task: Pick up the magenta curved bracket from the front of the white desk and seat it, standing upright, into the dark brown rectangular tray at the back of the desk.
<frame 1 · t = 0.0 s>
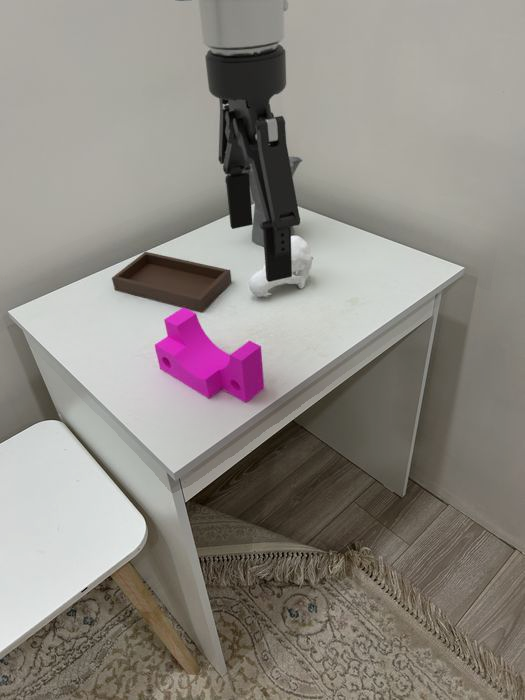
hand: (258, 250, 64), 21 cm above the table, tool pointing down, fingers open, 13 cm apart
white lumpy piece: (279, 289, 96), on the table
dark brown rectangular tray: (173, 286, 98), on the table
coffeepot: (268, 238, 110), on the table
magenta curved bracket: (210, 379, 78), on the table
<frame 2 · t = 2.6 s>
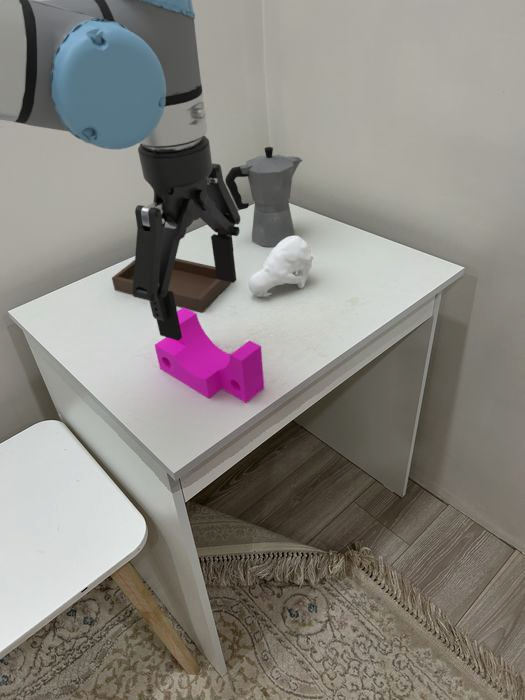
hand: (200, 306, 70), 12 cm above the table, tool pointing down, fingers open, 13 cm apart
nothing on the table moved.
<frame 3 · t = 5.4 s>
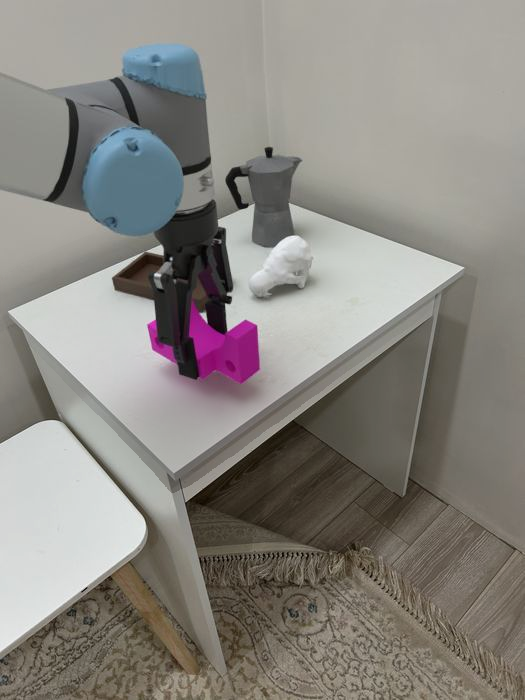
hand: (204, 358, 76), 4 cm above the table, tool pointing down, fingers closed on magenta curved bracket, 7 cm apart
magenta curved bracket: (204, 360, 76), point 3 cm above the table, touching gripper
everything else where it was.
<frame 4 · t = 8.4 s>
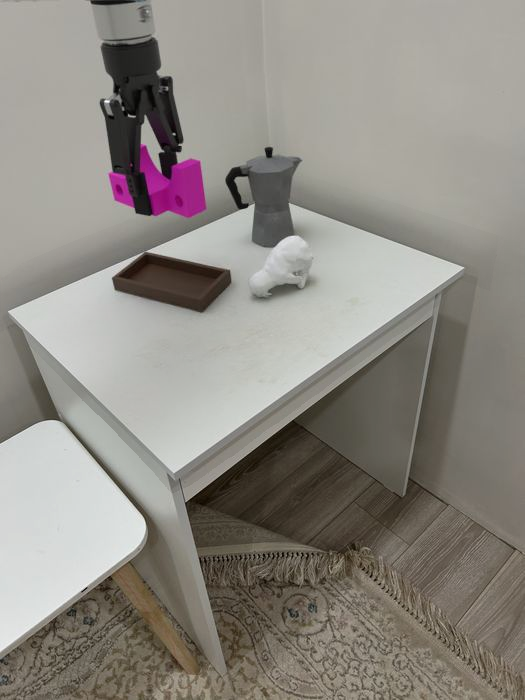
hand: (159, 203, 86), 17 cm above the table, tool pointing down, fingers closed on magenta curved bracket, 7 cm apart
magenta curved bracket: (159, 205, 86), point 16 cm above the table, touching gripper
everything else where it was.
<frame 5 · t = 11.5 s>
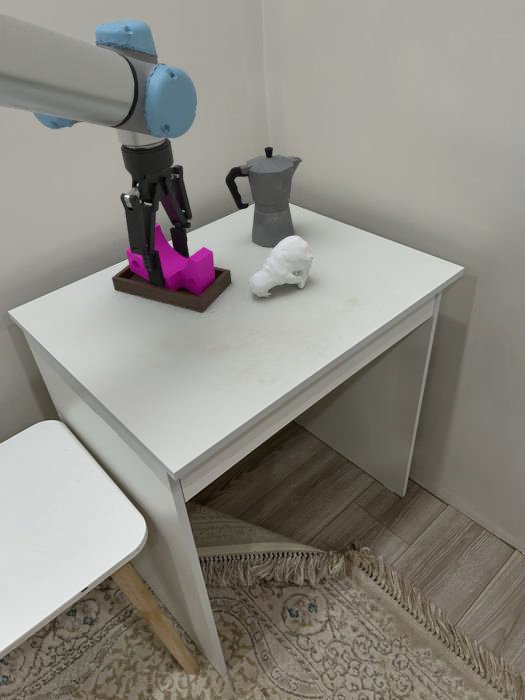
hand: (170, 272, 96), 3 cm above the table, tool pointing down, fingers closed on magenta curved bracket, 7 cm apart
magenta curved bracket: (172, 278, 97), point 1 cm above the table, touching gripper
everything else where it was.
when the fingers open (3 cm above the table, at t = 11.8 s): magenta curved bracket stays where it is, resting on dark brown rectangular tray.
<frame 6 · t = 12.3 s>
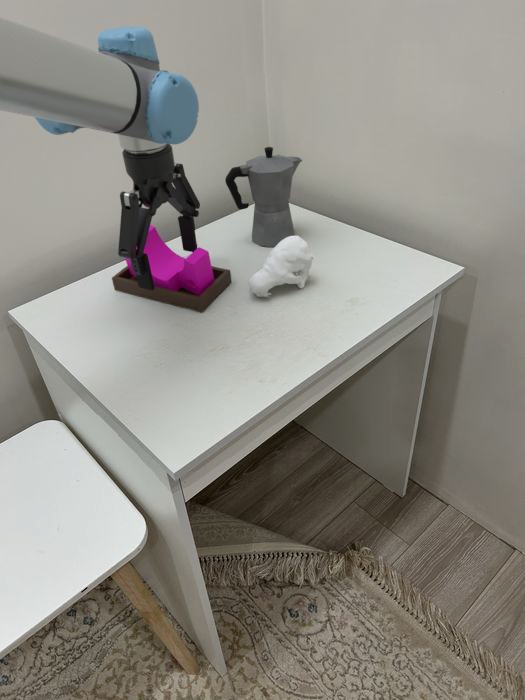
hand: (169, 268, 96), 4 cm above the table, tool pointing down, fingers open, 13 cm apart
magenta curved bracket: (172, 279, 97), point 1 cm above the table, touching dark brown rectangular tray
everything else where it was.
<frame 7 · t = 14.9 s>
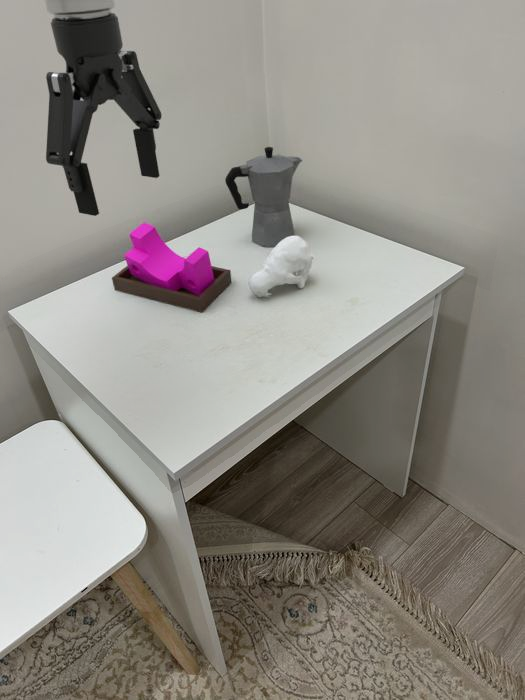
hand: (121, 193, 75), 22 cm above the table, tool pointing down, fingers open, 13 cm apart
nothing on the table moved.
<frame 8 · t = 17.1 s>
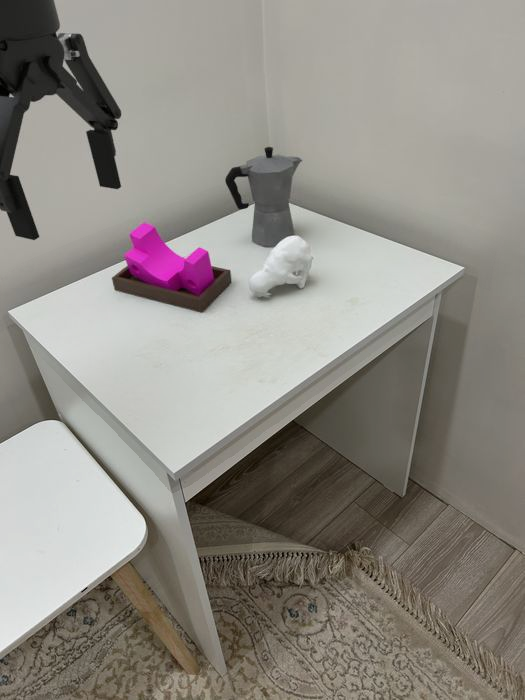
hand: (72, 210, 62), 27 cm above the table, tool pointing down, fingers open, 13 cm apart
nothing on the table moved.
at the end: magenta curved bracket 0.2 cm off-centre in the dark brown rectangular tray, point 1.3 cm above the dark brown rectangular tray's base; magenta curved bracket tilted 12°; the gripper is holding nothing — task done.
